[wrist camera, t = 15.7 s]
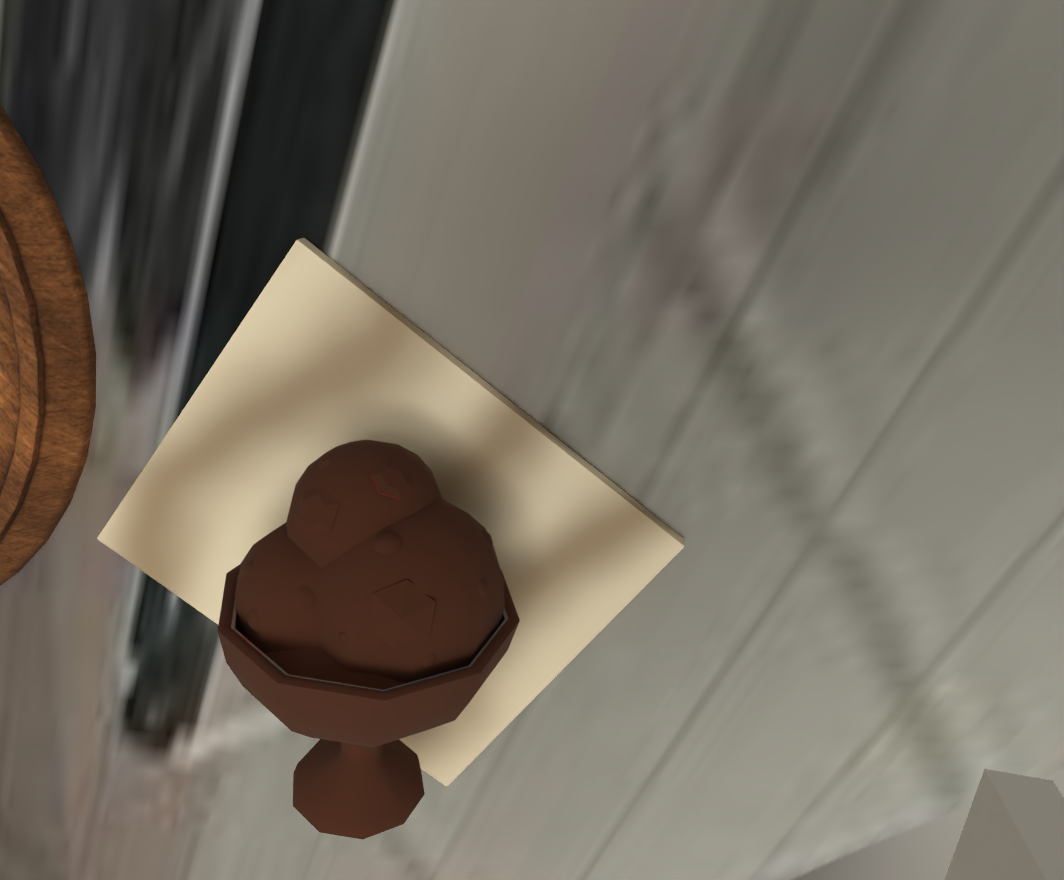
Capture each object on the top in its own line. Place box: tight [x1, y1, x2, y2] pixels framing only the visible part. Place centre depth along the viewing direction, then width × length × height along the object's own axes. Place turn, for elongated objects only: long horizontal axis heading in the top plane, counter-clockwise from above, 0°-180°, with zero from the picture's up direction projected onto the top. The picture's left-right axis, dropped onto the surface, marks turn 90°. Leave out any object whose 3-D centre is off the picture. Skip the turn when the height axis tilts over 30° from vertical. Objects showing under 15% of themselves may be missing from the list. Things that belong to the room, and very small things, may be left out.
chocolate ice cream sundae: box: [218, 440, 520, 839], centre depth 32 cm, size 11×11×15 cm
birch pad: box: [97, 238, 685, 787], centre depth 37 cm, size 20×17×1 cm
